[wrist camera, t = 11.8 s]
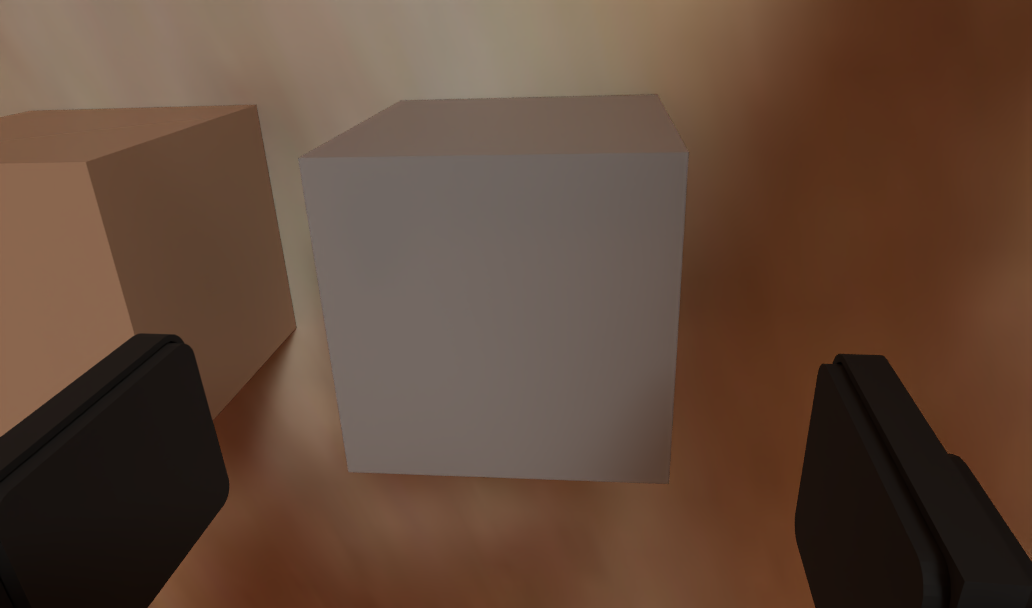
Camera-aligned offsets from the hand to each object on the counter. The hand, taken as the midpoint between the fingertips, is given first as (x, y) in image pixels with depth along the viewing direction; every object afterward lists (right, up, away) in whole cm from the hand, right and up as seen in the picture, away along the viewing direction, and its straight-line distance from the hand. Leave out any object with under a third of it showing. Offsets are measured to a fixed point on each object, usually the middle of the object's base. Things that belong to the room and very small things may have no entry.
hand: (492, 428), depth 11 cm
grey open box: (+1, +4, +12) cm, 13 cm away
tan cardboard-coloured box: (-11, +5, +13) cm, 18 cm away
